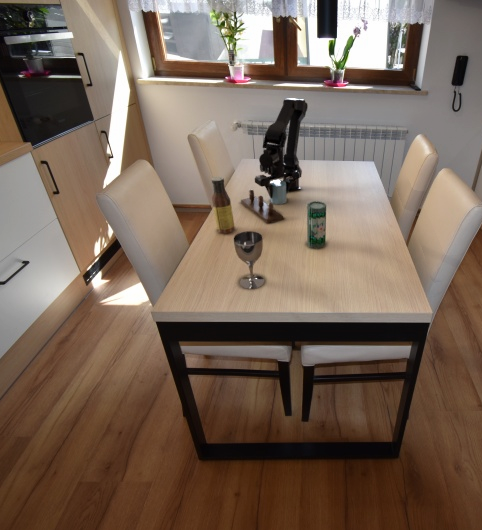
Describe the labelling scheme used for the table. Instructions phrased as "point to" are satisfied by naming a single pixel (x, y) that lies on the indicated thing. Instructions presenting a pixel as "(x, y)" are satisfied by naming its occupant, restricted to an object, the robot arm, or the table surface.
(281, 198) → the cup
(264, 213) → the rack
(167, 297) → the table surface
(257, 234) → the wine glass
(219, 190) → the sauce bottle
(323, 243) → the can
